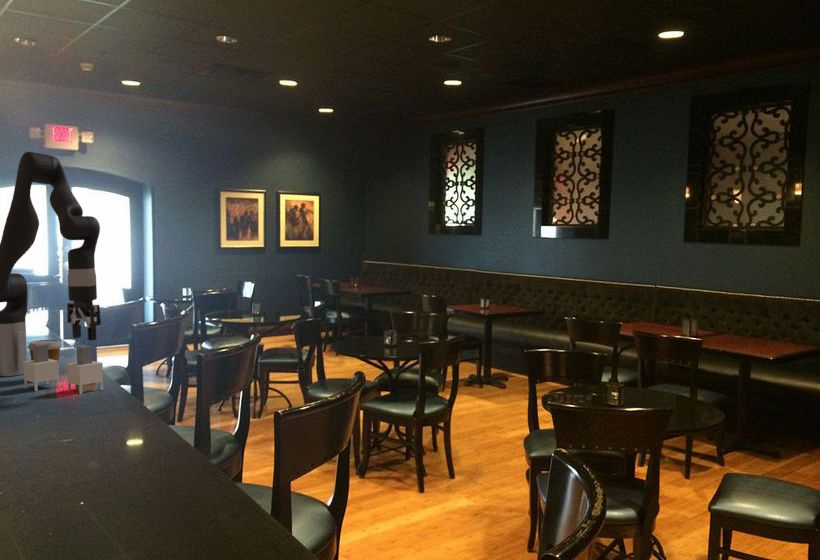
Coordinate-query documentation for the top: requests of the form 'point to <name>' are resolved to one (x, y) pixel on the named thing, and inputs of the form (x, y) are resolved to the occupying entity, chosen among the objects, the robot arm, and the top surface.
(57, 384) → the cover
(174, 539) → the top surface
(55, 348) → the disposable coffee cup
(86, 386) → the letter cube
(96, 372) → the cover
